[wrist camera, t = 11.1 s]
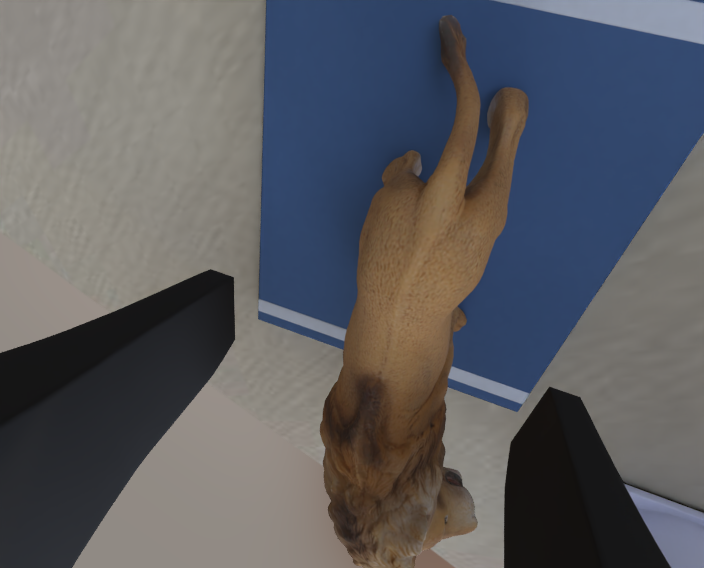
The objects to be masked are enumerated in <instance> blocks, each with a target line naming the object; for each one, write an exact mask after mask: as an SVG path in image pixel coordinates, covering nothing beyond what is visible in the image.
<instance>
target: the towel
mask: <svg viewBox="0 0 704 568" xmlns="http://www.w3.org/2000/svg"><path fill="white" fill-rule="evenodd" d="M446 15H452V16H454V17H455V18H456V19H457V20H458V22H459V24H460V27H461V31H462V34H463V35H464V36H465V38H466V52H465V54H466V60H467V63H468V65H469V67H470V69H471V71H472V74H473V77H474V80H475V82H476V85H477V88H478V92H479V96H480V104H481V106H480V116H479V125H478V132H477V137H476V143H475V147H474V151H473V155H472V159H471V163H470V167H469V171H468V176H467V183H466V187H467V186H468V185H469V184H470V182H471V181H472V180H473V179H474V177H475V176H476V175H477V173H478V172H479V170H480V168H481V167H482V165H483V163H484V161H485V159H486V155H487V150H488V146H489V138H490V128H489V127H488V123H487V113H488V109H489V106H490V103H491V101H492V99H493V98H494V96H495V95H496V93H497V92H498V91H499V90H500V89H502V88H505V87H510V88H517V89H519V90H522V91H523V92H524V93H525V94H526V95H527V97H528V100H529V109H528V117H527V120H526V124H525V128H524V130H523V132H522V134H521V136H520V139H519V143H518V147H517V151H516V155H515V159H514V166H513V173H512V181H511V188H510V194H509V199H508V205H507V212H508V213H507V219H506V223H505V226H504V229H503V231H502V232H501V234H500V235H499V236H498V237H497V239H496V240H495V242H494V245H493V248H492V250H491V253H490V256H489V259H488V262H487V265H486V267H485V270H484V273H483V275H482V277H481V279H480V281H479V283H478V284H477V286H476V287H475V288H474V290H473V291H472V292H471V293H470V294H469V295H468V296H467V297H466V298H465V299H464V300H463V301H462V302H461V303H460V304H459V305H458V307H459V308H460V309H461V310H462V311H463V313H464V314H465V316H466V319H467V322H466V324H465V325H464V326H463V327H461V329H460V330H459V331H456V332H453V346H454V357H453V363H452V367H451V370H450V373H449V376H448V387H449V388H452V389H455V390H457V391H460V392H463V393H466V394H469V395H471V396H474V397H477V398H480V399H482V400H485V401H488V402H491V403H494V404H496V405H499V406H502V407H505V408H508V409H510V410H513V411H516V412H518V410H519V409H520V407H521V406H522V404H523V403H524V402H525V400H526V399H527V397H528V396H529V394H530V392H531V391H532V389H533V388H534V386H535V385H536V383H537V382H538V380H539V379H540V377H541V376H542V374H543V373H544V371H545V370H546V368H547V367H548V365H549V364H550V362H551V361H552V359H553V358H554V356H555V355H556V353H557V352H558V350H559V349H560V347H561V346H562V344H563V343H564V341H565V340H566V338H567V337H568V335H569V334H570V332H571V331H572V329H573V328H574V326H575V325H576V323H577V322H578V320H579V319H580V317H581V316H582V314H583V313H584V311H585V310H586V308H587V307H588V305H589V304H590V302H591V301H592V299H593V298H594V296H595V295H596V293H597V292H598V290H599V289H600V287H601V286H602V284H603V283H604V281H605V280H606V278H607V277H608V275H609V274H610V272H611V271H612V269H613V268H614V266H615V265H616V263H617V262H618V260H619V259H620V257H621V256H622V254H623V253H624V251H625V250H626V248H627V247H628V245H629V244H630V242H631V241H632V239H633V238H634V236H635V235H636V233H637V232H638V230H639V229H640V227H641V226H642V224H643V223H644V221H645V220H646V218H647V217H648V215H649V214H650V212H651V211H652V209H653V208H654V206H655V205H656V203H657V202H658V200H659V199H660V197H661V196H662V194H663V193H664V191H665V190H666V188H667V187H668V185H669V184H670V182H671V181H672V179H673V178H674V176H675V175H676V173H677V172H678V170H679V169H680V167H681V166H682V164H683V163H684V161H685V160H686V158H687V157H688V155H689V154H690V152H691V151H692V149H693V148H694V146H695V145H696V143H697V142H698V140H699V139H700V137H701V136H702V134H703V133H704V0H266V35H265V74H264V113H263V153H262V192H261V231H260V270H259V302H258V319H259V320H262V321H265V322H268V323H271V324H273V325H276V326H279V327H282V328H285V329H287V330H290V331H293V332H296V333H299V334H301V335H304V336H307V337H310V338H312V339H315V340H318V341H321V342H324V343H326V344H329V345H332V346H335V347H338V348H340V349H343V350H344V341H345V334H346V330H347V327H348V325H349V322H350V318H351V315H352V312H353V309H354V306H355V303H356V300H357V294H358V289H357V266H358V257H359V240H360V235H361V231H362V228H363V225H364V222H365V219H366V216H367V214H368V211H369V208H370V205H371V201H372V199H373V197H374V195H375V194H376V193H377V192H378V191H379V190H380V189H381V188H383V187H384V184H383V181H382V175H383V172H384V170H385V169H386V167H387V166H388V165H389V164H390V163H391V162H392V161H393V160H394V159H396V158H399V157H402V156H404V155H405V154H406V153H407V152H408V151H411V150H414V151H416V152H418V153H419V154H420V156H421V165H422V171H421V173H420V175H419V176H418V177H419V178H420V179H421V180H422V181H423V182H424V183H426V182H427V181H428V179H429V178H430V176H431V175H433V173H434V171H435V169H436V167H437V165H438V163H439V161H440V158H441V156H442V153H443V151H444V148H445V146H446V143H447V141H448V139H449V136H450V134H451V132H452V128H453V125H454V121H455V116H456V107H457V95H456V90H455V87H454V83H453V81H452V79H451V76H450V74H449V72H448V71H447V69H446V67H445V66H444V64H443V63H442V60H441V40H440V35H439V20H440V19H441V18H442V17H443V16H446Z"/></svg>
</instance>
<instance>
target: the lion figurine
mask: <svg viewBox="0 0 704 568" xmlns="http://www.w3.org/2000/svg"><path fill="white" fill-rule="evenodd" d="M439 35H440V40H441V60H442V63H443V64H444V66H445V67H446V69H447V71H448V72H449V74H450V76H451V79H452V81H453V83H454V87H455V90H456V95H457V107H456V116H455V121H454V125H453V128H452V132H451V134H450V136H449V139H448V141H447V143H446V146H445V148H444V151H443V153H442V156H441V158H440V161H439V163H438V165H437V167H436V169H435V171H434V173H433V175H431V176H430V178H429V179H428V181H427V182H426V183H424V182H423V181H422V180H421V179H420V178H419V177H418V176H419V175H420V173H421V171H422V165H421V156H420V154H419V153H418V152H416V151H414V150H411V151H408V152H407V153H406V154H405V155H404V156H402V157H399V158H396V159H394V160H393V161H392V162H391V163H390V164H389V165H388V166H387V167H386V169H385V170H384V172H383V175H382V181H383V184H384V187H383V188H381V189H380V190H379V191H378V192H377V193H376V194H375V195H374V197H373V199H372V201H371V205H370V208H369V211H368V214H367V216H366V219H365V222H364V225H363V228H362V231H361V235H360V240H359V257H358V266H357V289H358V294H357V300H356V303H355V306H354V309H353V312H352V315H351V318H350V322H349V325H348V327H347V330H346V334H345V341H344V351H343V367H342V370H341V372H340V375H339V378H338V381H337V382H336V383H335V384H334V386H333V388H332V389H331V391H330V393H329V395H328V397H327V398H326V400H325V404H324V409H323V421H322V422H321V424H320V435H321V438H322V441H323V443H324V446H325V448H326V450H325V456H324V460H323V466H324V483H325V488H326V492H327V494H328V495H329V497H330V499H331V503H330V504H329V506H328V513H329V516H330V518H331V520H332V521H333V522H334V530H335V533H336V535H337V537H338V539H339V540H340V541H341V543H343V545H344V546H345V547H346V548H347V551H348V553H349V554H350V555H351V557H352V558H353V562H354V564H355V565H357V566H362V567H363V568H414V566H415V558H416V556H417V555H419V554H420V553H421V552H422V551H423V550H427V549H430V548H432V547H433V546H434V545H435V544H437V543H438V542H440V541H441V540H442V539H445V538H449V537H452V536H458V535H463V534H467V533H470V532H472V531H474V530H475V529H476V528H477V519H476V517H475V514H474V510H475V506H474V502H473V499H472V496H471V495H470V493H469V492H468V490H467V489H466V488H465V487H463V484H462V477H461V474H460V473H459V472H458V471H457V470H454V469H449V468H445V467H443V461H444V456H445V447H444V445H443V443H442V437H443V433H444V430H445V421H446V415H445V413H446V404H445V401H444V397H445V394H446V391H447V387H448V376H449V373H450V370H451V367H452V363H453V357H454V346H453V332H456V331H459V330H460V329H461V327H463V326H464V325H465V324H466V322H467V319H466V316H465V314H464V313H463V311H462V310H461V309H460V308H459V307H458V305H459V304H460V303H461V302H462V301H463V300H464V299H465V298H466V297H467V296H468V295H469V294H470V293H471V292H472V291H473V290H474V288H475V287H476V286H477V284H478V283H479V281H480V279H481V277H482V275H483V273H484V270H485V267H486V265H487V262H488V259H489V256H490V253H491V250H492V248H493V245H494V242H495V240H496V239H497V237H498V236H499V235H500V234H501V232H502V231H503V229H504V226H505V223H506V219H507V213H508V212H507V205H508V199H509V194H510V188H511V181H512V173H513V166H514V159H515V155H516V151H517V147H518V143H519V139H520V136H521V134H522V132H523V130H524V128H525V124H526V120H527V117H528V109H529V100H528V97H527V95H526V94H525V93H524V92H523V91H522V90H519V89H517V88H510V87H505V88H502V89H500V90H499V91H498V92H497V93H496V95H495V96H494V98H493V99H492V101H491V103H490V106H489V109H488V113H487V123H488V127H489V128H490V138H489V146H488V150H487V155H486V159H485V161H484V163H483V165H482V167H481V168H480V170H479V172H478V173H477V175H476V176H475V177H474V179H473V180H472V181H471V182H470V184H469V185H468V186H467V187H466V183H467V176H468V171H469V167H470V163H471V159H472V155H473V151H474V147H475V143H476V137H477V132H478V125H479V116H480V106H481V104H480V96H479V92H478V88H477V85H476V82H475V80H474V77H473V74H472V71H471V69H470V67H469V65H468V63H467V60H466V54H465V52H466V38H465V36H464V35H463V34H462V31H461V27H460V24H459V22H458V20H457V19H456V18H455V17H454V16H452V15H446V16H443V17H442V18H441V19H440V20H439Z"/></svg>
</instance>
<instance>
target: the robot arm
mask: <svg viewBox="0 0 704 568" xmlns="http://www.w3.org/2000/svg"><path fill="white" fill-rule="evenodd" d="M234 340H235V315H234V277H231V276H228V275H225V274H223V273H220V272H217V271H214V270H211V269H210V270H208V271H205V272H203V273H200V274H198V275H196V276H193V277H191V278H189V279H187V280H184V281H182V282H180V283H178V284H176V285H173V286H171V287H169V288H167V289H165V290H162V291H160V292H158V293H156V294H153V295H151V296H149V297H147V298H144V299H142V300H140V301H137V302H135V303H133V304H131V305H128V306H126V307H124V308H122V309H119V310H117V311H115V312H112V313H109V314H107V315H105V316H102V317H99V318H97V319H95V320H92V321H90V322H87V323H85V324H82V325H79V326H77V327H74V328H72V329H69V330H67V331H64V332H61V333H59V334H56V335H53V336H50V337H47V338H45V339H42V340H39V341H36V342H33V343H30V344H27V345H24V346H21V347H17V348H14V349H11V350H8V351H5V352H2V353H0V568H72V567H73V565H74V564H75V562H76V560H77V559H78V557H79V555H80V554H81V552H82V551H83V549H84V548H85V546H86V544H87V543H88V541H89V540H90V538H91V537H92V535H93V534H94V532H95V531H96V529H97V527H98V526H99V524H100V523H101V521H102V520H103V518H104V517H105V515H106V514H107V512H108V511H109V509H110V508H111V506H112V505H113V503H114V502H115V500H116V499H117V497H118V496H119V494H120V493H121V491H122V490H123V488H124V487H125V485H126V484H127V483H128V481H129V480H130V478H131V477H132V475H133V474H134V472H135V471H136V469H137V468H138V467H139V465H140V464H141V463H142V461H143V460H144V459H145V457H146V456H147V455H148V454H149V452H150V451H151V450H152V449H153V447H154V446H155V445H156V444H157V442H158V441H159V440H160V439H161V438H162V436H163V435H164V434H165V433H166V432H167V430H168V429H169V428H170V427H171V426H172V424H173V423H174V422H175V421H176V419H177V418H178V417H179V416H180V415H181V413H182V412H183V411H184V410H185V409H186V407H187V406H188V405H189V403H191V401H192V400H193V399H194V398H195V396H196V395H197V394H198V393H199V391H200V390H201V389H202V388H203V387H204V385H205V384H206V383H207V382H208V380H209V379H210V378H211V377H212V375H213V374H214V372H215V371H216V369H217V368H218V366H219V365H220V363H221V362H222V360H223V358H224V357H225V355H226V354H227V352H228V350H229V349H230V347H231V345H232V344H233V342H234ZM504 568H704V513H702V512H700V511H697V510H694V509H691V508H689V507H686V506H683V505H681V504H678V503H675V502H673V501H670V500H667V499H664V498H662V497H659V496H656V495H654V494H651V493H648V492H646V491H643V490H640V489H637V488H635V487H632V486H629V485H627V484H624V483H623V481H622V479H621V477H620V475H619V473H618V472H617V470H616V468H615V466H614V464H613V462H612V460H611V458H610V456H609V454H608V452H607V450H606V448H605V446H604V444H603V442H602V440H601V438H600V436H599V434H598V432H597V430H596V428H595V426H594V424H593V422H592V420H591V418H590V416H589V414H588V412H587V410H586V408H585V406H584V404H583V402H582V400H581V398H580V397H577V396H575V395H572V394H569V393H566V392H563V391H560V390H557V389H554V388H551V387H549V388H548V390H547V391H546V393H545V394H544V395H543V397H542V398H541V400H540V401H539V403H538V404H537V406H536V407H535V408H534V410H533V411H532V413H531V414H530V416H529V417H528V418H527V420H526V421H525V423H524V424H523V426H522V427H521V429H520V430H519V431H518V433H517V434H516V436H515V437H514V439H513V440H512V441H511V445H510V452H509V459H508V466H507V474H506V483H505V507H504Z"/></svg>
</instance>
